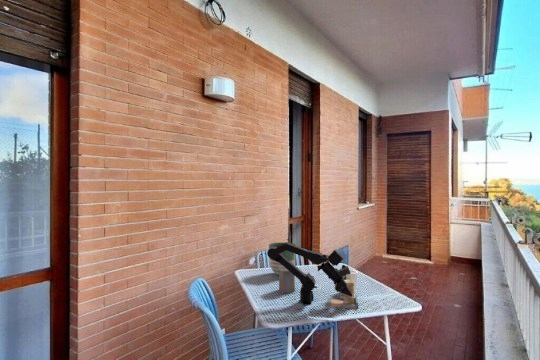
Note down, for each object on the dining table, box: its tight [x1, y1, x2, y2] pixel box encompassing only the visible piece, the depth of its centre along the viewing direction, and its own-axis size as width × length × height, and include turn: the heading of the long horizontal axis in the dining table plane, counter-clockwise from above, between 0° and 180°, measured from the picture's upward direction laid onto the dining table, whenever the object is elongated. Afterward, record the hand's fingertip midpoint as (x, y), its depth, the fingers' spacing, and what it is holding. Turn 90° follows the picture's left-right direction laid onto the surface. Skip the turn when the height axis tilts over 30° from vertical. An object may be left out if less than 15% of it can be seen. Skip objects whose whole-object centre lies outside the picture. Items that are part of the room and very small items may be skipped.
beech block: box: [343, 280, 355, 305], centre depth 172 cm, size 5×5×12 cm
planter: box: [268, 242, 297, 276], centre depth 232 cm, size 20×20×21 cm
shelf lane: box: [326, 294, 359, 309], centre depth 173 cm, size 16×12×4 cm
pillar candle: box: [278, 267, 296, 294], centre depth 197 cm, size 10×10×15 cm
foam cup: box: [343, 269, 359, 294], centre depth 191 cm, size 10×9×13 cm
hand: (351, 293), depth 172 cm, fingers open, 9 cm apart
